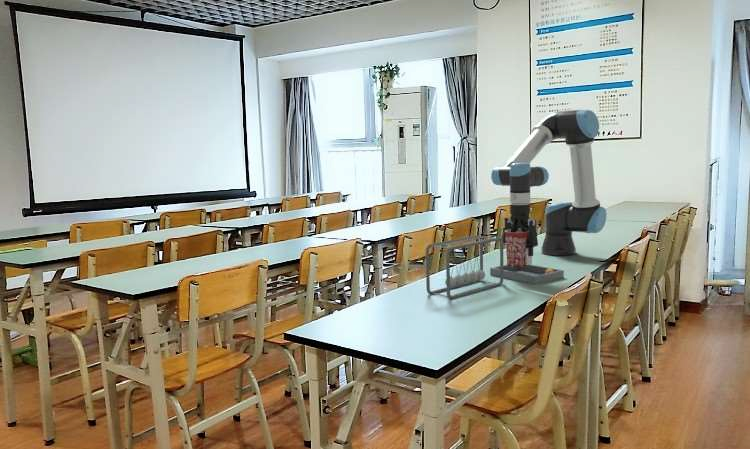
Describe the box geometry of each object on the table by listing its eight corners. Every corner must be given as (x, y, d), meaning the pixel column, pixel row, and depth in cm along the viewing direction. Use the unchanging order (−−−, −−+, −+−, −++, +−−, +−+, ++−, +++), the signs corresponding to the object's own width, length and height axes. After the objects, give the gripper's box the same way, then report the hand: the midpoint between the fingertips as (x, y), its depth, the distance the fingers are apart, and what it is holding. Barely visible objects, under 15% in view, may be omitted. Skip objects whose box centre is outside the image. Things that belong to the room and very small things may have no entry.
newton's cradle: (448, 300, 197) (447, 247, 195) (426, 295, 205) (424, 244, 203) (504, 284, 216) (503, 236, 214) (481, 280, 224) (480, 234, 222)
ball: (549, 275, 225) (549, 267, 225) (555, 277, 223) (556, 268, 222) (543, 277, 224) (543, 268, 223) (550, 278, 221) (550, 269, 221)
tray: (518, 270, 240) (518, 262, 239) (563, 279, 222) (563, 270, 221) (490, 276, 231) (490, 267, 230) (535, 285, 213) (535, 276, 212)
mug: (521, 268, 221) (521, 232, 219) (500, 266, 227) (500, 231, 225) (538, 263, 230) (538, 228, 228) (517, 260, 236) (517, 227, 234)
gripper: (492, 202, 231) (493, 260, 234) (535, 206, 214) (534, 268, 217) (506, 201, 236) (506, 258, 238) (548, 204, 219) (548, 265, 222)
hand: (520, 262), depth 228 cm, fingers closed on mug, 8 cm apart
